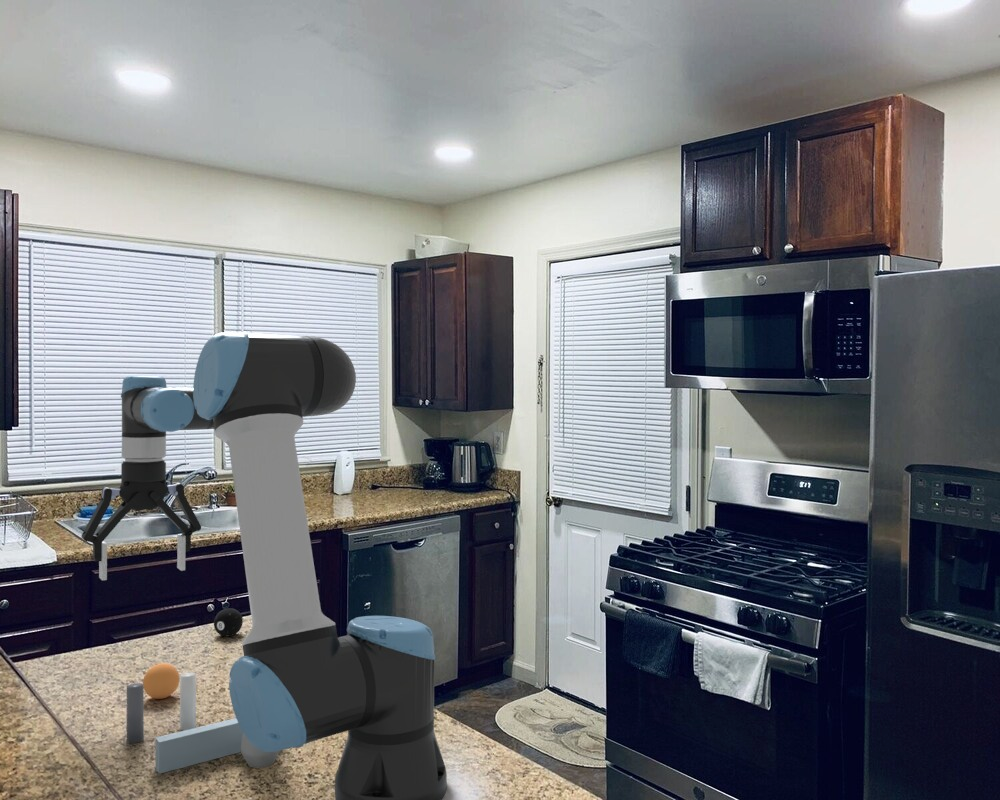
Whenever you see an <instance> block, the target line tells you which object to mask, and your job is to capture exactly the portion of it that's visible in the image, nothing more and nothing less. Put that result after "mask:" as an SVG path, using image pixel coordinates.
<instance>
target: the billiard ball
mask: <svg viewBox="0 0 1000 800" xmlns="http://www.w3.org/2000/svg"><path fill="white" fill-rule="evenodd" d="M243 619H244V618H243V615H242V614H241V612H240V611H239V610H237V609H236V608H232V607H231V608H229V607H228V608H224V609H222V610H220V611H218V613H216V616H215V617H214V619H213V620H214V621H213V626H214V627H213V628H214V630H215V632H216V633H217V634H218V635H220V636H223V637H231V636H234V635H236V634H237V633H240V630H241V628H242V627H243V623H244V622H243V621H244V620H243Z"/></svg>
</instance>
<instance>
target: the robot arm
mask: <svg viewBox="0 0 1000 800" xmlns="http://www.w3.org/2000/svg"><path fill="white" fill-rule="evenodd" d="M193 376H194V377H193V384H192V385H193V386H192V387H173V386H171V387H167V379H166V378H165V377H163V376H150V375H149V376H143V375H142V376H140V375H139V376H138V375H137V376H136V375H134V376H133V375H131V376H130V375H128V376H126V377H124V378H123V380H122V384H121V385H122V386H121V393H120V397H121V458H122V459H124V460H123V461H122V462H121V472H120V473H121V474H120V475H121V477H120V478H121V479H120V480H121V483H120V487H119V488H109V487H107V486H104V487H103V488H102V489H101V496H100V500H99V501H98V504H97V506H96V508H95V510H94V511H93V513H92V515H91V517H90V518H89V521H88V523H87V524H86V526H85V528H84V530H83V532H82V534H81V539H82V540H84V541H85V542H88V543H92V559H93V561H94V562H98V566H99V567H98V569H99V570H98V571H99V572H98V578H99V579H100V580H101V581H107V580H108V572H107V571H108V543H106V541H105V540H106V538H107V537H108V536H109V535H110V534H111V532H112V531H113V530H114V529H115V528H116V527H117V525H118V524H119V523H120V522H121V521H122V520H123V519H124V518H125V517H126V516H127V514H129V513H130V511H131V510H133V511H136V512H140V511H143V510H148V511H154V509H157V508H158V509H160V511H161V512H162V513H163V514H164V515H165V516H166V517H167V518H168V519H169V520H170V521H171V522H172V523H173V525H175V527H177V528H178V530H179V531H180V532H181V533H177V538H176V539H177V541H176V542H177V546H176V547H177V548H176V549H177V551H176V553H177V559H176V562H177V563H176V568H177V569H178V570H179V571H181V572H183V571H186V553H187V552H190V551H191V548H192V535H193V534H194V533H196V532H199V531H201V529H202V525H201V524H200V521H199V520H198V518H197V516H196V513H195V512H194V510H193V508H192V507H191V504H190V503H189V501H188V499H187V497H186V494H185V487H184V484H182V483H180V482H175V483H174V484H169V485H167V482H166V481H167V478H166V477H167V462H166V461H165V460H164V458H165V457H166V455H167V433H168V432H169V433H173V432H177V431H178V432H179V431H193V430H194V431H195V430H214V435H215V437H216V438H218V439H219V440H220V441H222V442H224V443H225V444H226V445H227V446H228V450H229V456H230V457H229V459H230V463H231V464H230V466H231V473H232V479H233V480H232V481H233V488H234V495H235V502H236V503H235V504H236V511H237V517H238V518H237V519H238V525H239V531H240V532H239V534H240V540H241V548H242V555H243V561H244V562H243V563H244V564H243V565H244V571H245V578H246V585H247V586H246V587H247V592H248V601H249V608H250V616H251V622H252V623H251V624H252V627H251V630H250V631H249V632H248V634H247V635H246V637H245V638H244V640H243V641H242V642H241V643H242V651H243V652H242V654H243V655H242V656H241V657H239V658H238V659H237V660H235V661H234V663H232V665H231V667H230V671H229V678H230V679H229V682H228V683H229V684H228V686H229V687H228V690H229V696H230V697H229V698H230V701H231V706H232V709H233V713H234V716H235V718H236V719H237V721H238V723H239V726H240V728H241V729H242V731H243V733H244V734H245V736H246V737H247V739H248V740H249V741H250V742H251V744H252V745H254V746H255V747H256V748H258V749H259V750H261V751H264V752H277V751H279V752H280V751H285V750H288V749H289V750H290V749H299V748H302V747H303V746H304V745H305V744H308V743H312V742H315V741H318V740H322V739H325V738H328V737H333V736H334V735H338V734H341V733H344V732H347V739H346V742H345V745H344V748H343V751H342V753H341V757H340V759H339V764H338V766H337V770H336V773H335V777H334V798H335V800H442V798H443V799H444V797H445V794H446V792H447V787H448V786H447V784H448V783H447V782H448V781H447V780H448V779H447V778H448V777H447V774H448V773H447V768H446V765H445V762H444V759H443V756H442V753H441V749H440V746H439V743H438V740H437V737H436V733H435V660H436V655H435V644H434V641H435V640H434V634H433V632H432V630H431V628H430V627H429V626H428V625H426V624H424V623H422V622H421V621H417V620H414V619H411V618H405V617H400V616H398V617H397V616H389V615H365V616H358V617H357V616H356V617H355V618H353V619H351V620H350V621H349V622H348V626H347V628H346V632H347V633H348V634H346V635H343V636H338V633H337V626H336V622H335V621H333V620H332V619H331V618H329V617H327V616H326V615H325V614H324V613H323V611H322V609H321V602H320V595H319V587H318V583H317V577H316V569H315V565H314V557H313V549H312V544H311V538H310V537H311V536H310V532H309V531H310V530H309V524H308V519H307V518H308V517H307V511H306V505H305V497H304V491H303V484H302V478H301V472H300V471H301V470H300V467H299V458H298V453H297V447H296V440H295V436H296V434H297V432H298V431H299V430H300V429H301V427H302V426H303V425H304V418H305V417H316V416H323V415H329V414H331V413H334V412H336V411H338V410H340V409H341V408H343V407H344V406H345V405H346V404H347V403H348V402H349V401H350V399H351V398H352V396H353V395H354V391H355V389H356V383H357V374H356V369H355V366H354V363H353V362H352V359H351V358H350V356H349V355H348V354H347V353H346V352H345V350H344V349H342V348H341V347H340V346H338V344H336V343H334V342H332V341H330V340H328V339H325V338H321V337H317V336H309V335H303V336H302V335H300V336H299V335H286V334H272V333H271V334H270V333H269V334H267V333H253V332H251V333H250V332H247V331H241V332H219V333H216V334H215V335H213V336H211V337H210V338H209V339H208V340H207V341H206V343H205V344H204V346H203V347H202V349H201V351H200V354H199V356H198V359H197V362H196V365H195V371H194V375H193ZM169 492H170V494H171V496H174V497H175V499H176V502H177V503H178V505H179V507H180V509H181V510H182V513H183V514H184V516H185V518H186V520H187V522H188V524H189V525H187V524H186V523H185V522H184V521H183V519H181V518H180V517H179V515H177V513H175V512H174V511H173V509H172V508H171V507H170V506H169V505H168V504H167V502H165V500H164V499H165V497H166V496H167V495H168V493H169ZM117 496H119V497H120V498H121V500H123V501H122V502H121V503H120V504H119V505H118V506H117V509H116V510H115V511H114V512H113V513H112V514H111V515H110V517H109V518H108V519H107V520H106V522H105V523H103V525H102V526H101V527H100V528H99V525H100V523H101V522H102V519H103V518H104V516H105V514H106V512H107V510H108V509H109V507H110V504H111V501H114V500H115V499H116V497H117ZM98 528H99V529H98ZM97 529H98V530H97ZM96 531H97V532H96Z"/></svg>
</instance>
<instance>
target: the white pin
mask: <svg viewBox="0 0 1000 800" xmlns="http://www.w3.org/2000/svg"><path fill="white" fill-rule="evenodd" d="M193 728H197V674H196V673H195V672H185V673H182V674H179V729H180V730H181V731H185V730H189V729H193Z"/></svg>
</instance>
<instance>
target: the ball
mask: <svg viewBox="0 0 1000 800" xmlns="http://www.w3.org/2000/svg"><path fill="white" fill-rule="evenodd" d="M142 684H143V685H144V692H145V693H146V694H147V696H149V697H150V698H153V699H156V700H161V699H165V698H168V697H170V696H171V695H173V694H174V692H176V690H177V689H178V687H179V686H180V673H179V672H178V669H177V668H176V667H175V666H173V664H170V663H167V662H162V663H157V664H155V665H153V666H151V667H150V668H149V669H148V670H147V671H146V673H145V674H144V677H143V679H142Z"/></svg>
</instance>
